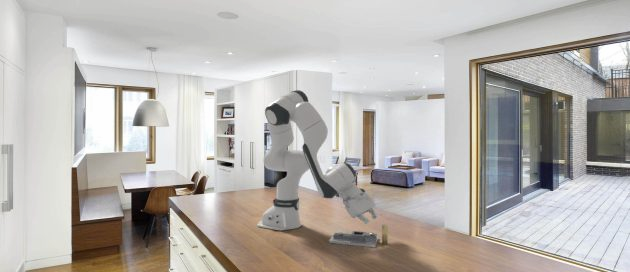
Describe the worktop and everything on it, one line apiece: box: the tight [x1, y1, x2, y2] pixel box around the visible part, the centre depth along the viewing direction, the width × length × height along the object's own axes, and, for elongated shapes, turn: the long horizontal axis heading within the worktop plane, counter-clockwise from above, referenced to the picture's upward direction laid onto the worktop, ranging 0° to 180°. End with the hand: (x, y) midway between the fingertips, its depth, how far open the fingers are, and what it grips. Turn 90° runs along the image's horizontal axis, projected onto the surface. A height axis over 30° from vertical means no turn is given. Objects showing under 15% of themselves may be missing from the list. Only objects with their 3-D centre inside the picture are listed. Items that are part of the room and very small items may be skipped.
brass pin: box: [381, 224, 389, 246], centre depth 146 cm, size 2×2×8 cm
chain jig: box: [328, 230, 379, 248], centre depth 150 cm, size 20×12×4 cm, turn 73°
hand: (372, 220), depth 148 cm, fingers open, 8 cm apart
